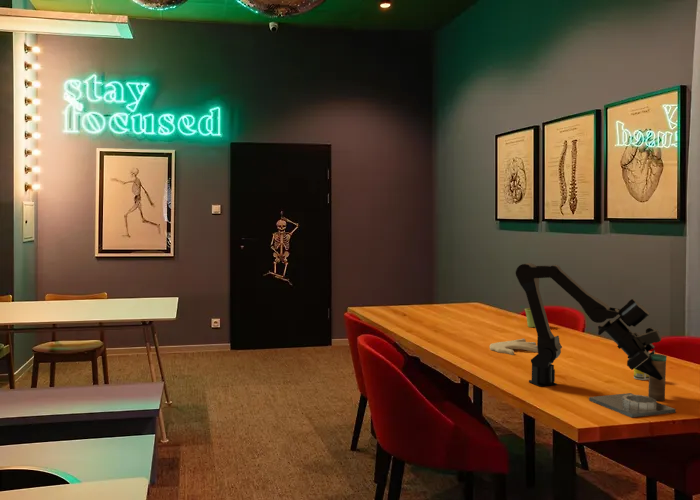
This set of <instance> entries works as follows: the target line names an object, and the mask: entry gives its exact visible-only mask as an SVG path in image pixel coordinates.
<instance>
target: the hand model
mask: <svg viewBox="0 0 700 500" xmlns="http://www.w3.org/2000/svg"><path fill="white" fill-rule="evenodd" d="M489 350H490V351H493V352H497V353H500V354H506V355H509V356H515V351H514V350H524V351H528V352H532V353H538V348H537V343H536V342H532V341H531V342H530V341H527V340H526V339H525V338H520V339H515V340H513V339H512V340H507V341H498V342H493V343H490V345H489Z"/></svg>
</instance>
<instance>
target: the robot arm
mask: <svg viewBox="0 0 700 500" xmlns="http://www.w3.org/2000/svg"><path fill="white" fill-rule="evenodd" d="M515 276H516V279H517V280H518V283H519V285H520V286H521V289H522V290H523V291H524V292H525V296H526V299H527V302H528V303H527V304H528V305H529V308H530V310H531V313H532V317H533V320H534V324H535V327H534V328H535V331H536V334H537V341H536V342H537V343H536V346H537V348H538V352H537V354H536V355H535V356H534V357H533V358H531V359H530V363H531V379H529V380H528V382H529V383H530V384H532V385H533V384H534V385H535V386H538V387H547V386H549V387H551V386H557V383H556V382H555V381H556V377H555V376H556V375H555V374H556V370H555V365H554V364H553V363H554V362H555V360H557V359H558V358H559V357H560V355H561V352H562V351H561V350H562V348H563V346H562V344H561V343H560V342H561V341H560V336H559V335H556V336H555V335H554V333H552V331H551V328H550V323H549V321H548V316H547V313H546V309H545V306H544V302H543V299H542V296H541V292H540V279H546V278H548V279H549V278H550V279H552V280H553V281H554V282H555V283H556V284H557V285H558V286H560V287H561V288H562V289H563V290H564V291H565V292H566V293H567V294H568V295H570V297H572V298H573V299H574V300H575V301H576V302H577V304H579V306H581V308H582V310H583V311H584V313H585V314H586V315H587V316H588V318H589V319H590V320H591V321H592V322H594V323H596V324H597V323H598V324H599V325H598V326H597V329H598V331H597V335H598V336H601V335H602V334H603V333H604V332H605V333H606V334H607V335H608V337H609V338H611V340H613V342H614V343H615V344H616V345H617V346H616V348H618V350H620V349H621V351H623V352H624V353H625V354H626V356H627V358H628V359H627V361H626V366H627V367H628V368H629V369H630V370H631V371H634V368H635V369H636V370H639V371H641V372H643V373H645V374H648V375H650V376H652V377H654V378H656V379H658V380H662V379H663V377H662V376H661V374H660V373H659V371H658V370H657V368H656V367H655V366H654V364H653V363H652V355H651V356H650V355H649V354H656V350H655V347H656V346H655V345H654V343H655V344H656V343H660V342H661V340H662V336H661V334H660V331H659V330H658V329H654V328H653V327H647V328H646V329H645V332H644V333H642V334H638V333H637V332H632V331H631V329H630V328H629V327H634V328H635V327H637V326H638V325H640V324H641V323H642V322H643V321H644V320H646V319H647V318H648V317H650V316H651V314H650V313H649V311H648V309H646V308H645V307H644V305H643V304H640V303H639V302H638V301H637V300H635V299H634V298H631V299H630V300H629V301H628V302H627V303H625V304H624V305H623V306H622V307H621V308H615V307H611V306H610V305H609V304H607V303H605V302H604V301H603V300H601V299H599V298H597V297H596V296H594V295H592V294H590V293H589V292H587V291H586V290H585V289H584V288H583V287H582V286H581V285H580V284H579V283H578V282H576V281H575V280H574V279H573V278H572V277H570V275H568V274H567V273H566V272H565V271H564V270H563V269H562V268H561V266H560V265H558V264H552V265H535V264H534V263H533V262H528V263H521V264H520V265H519V266H517V268H516V269H515ZM618 315H619V316H618ZM617 316H618V317H617ZM616 317H617V318H616ZM615 318H616V319H615ZM612 319H614V320H612ZM605 321H607V322H605ZM604 322H605V323H604ZM601 323H604V324H603V325H601ZM651 350H652V351H651Z"/></svg>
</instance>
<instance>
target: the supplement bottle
mask: <svg viewBox="0 0 700 500" xmlns="http://www.w3.org/2000/svg"><path fill="white" fill-rule="evenodd" d="M633 379H635V380H637V381H638V380H640V381H649V375H648V374H645V373H643V372H641V371H639V370H636V369H635V368H634V369H633Z"/></svg>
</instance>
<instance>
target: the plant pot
mask: <svg viewBox="0 0 700 500" xmlns="http://www.w3.org/2000/svg"><path fill="white" fill-rule="evenodd" d="M524 311H525V316H526V322H527V323H526V324H527V327H528V328H535V324H534V320H533V317H532V313H531V310H530V307H529V308H524Z"/></svg>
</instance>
